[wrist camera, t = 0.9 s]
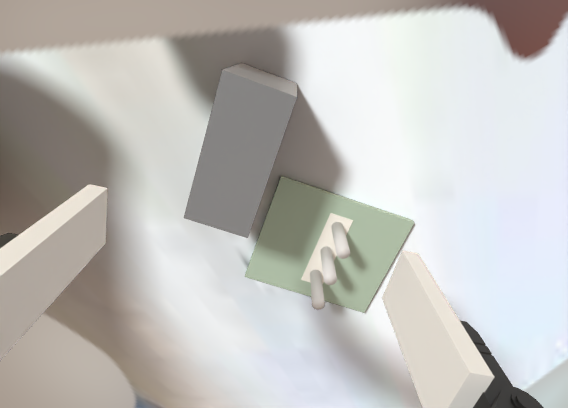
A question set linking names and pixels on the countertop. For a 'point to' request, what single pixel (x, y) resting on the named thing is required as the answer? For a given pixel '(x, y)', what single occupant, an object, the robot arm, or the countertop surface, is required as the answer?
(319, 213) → the board
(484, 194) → the countertop surface
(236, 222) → the block
